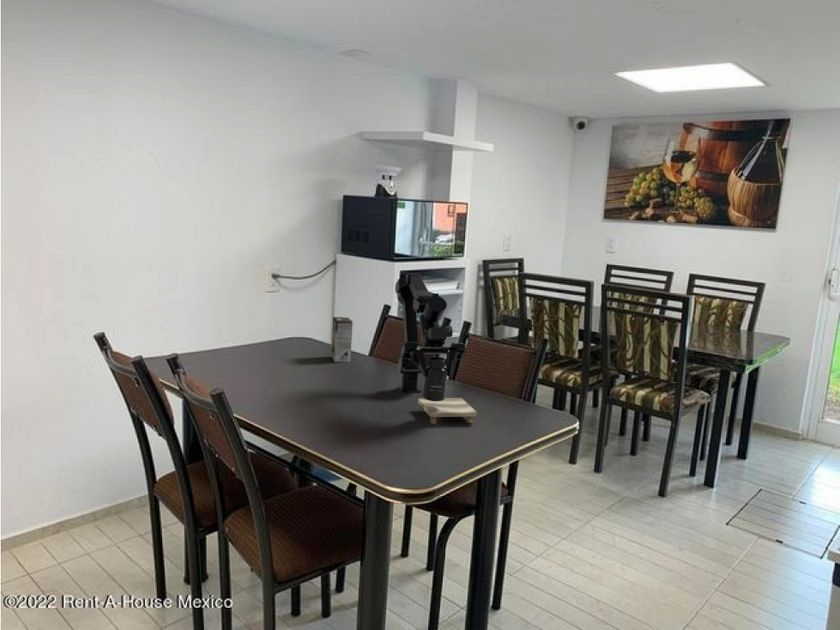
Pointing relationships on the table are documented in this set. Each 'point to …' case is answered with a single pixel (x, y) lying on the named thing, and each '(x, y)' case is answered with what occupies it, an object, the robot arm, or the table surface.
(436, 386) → the supplement bottle
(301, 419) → the table surface
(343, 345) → the coffee box
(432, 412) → the small stand
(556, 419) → the table surface
